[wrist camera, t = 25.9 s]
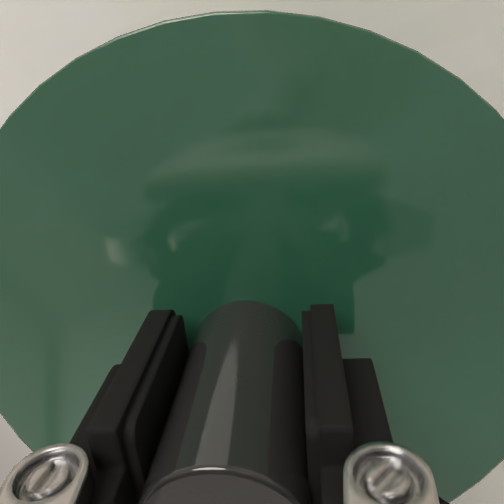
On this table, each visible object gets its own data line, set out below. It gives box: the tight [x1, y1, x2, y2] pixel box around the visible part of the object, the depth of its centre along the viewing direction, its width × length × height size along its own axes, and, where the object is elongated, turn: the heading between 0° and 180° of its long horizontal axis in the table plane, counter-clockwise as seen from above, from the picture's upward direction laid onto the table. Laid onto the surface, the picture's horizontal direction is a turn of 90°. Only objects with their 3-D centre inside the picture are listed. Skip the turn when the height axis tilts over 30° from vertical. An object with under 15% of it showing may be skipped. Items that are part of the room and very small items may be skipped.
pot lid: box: [0, 10, 504, 504], centre depth 10 cm, size 15×15×6 cm
